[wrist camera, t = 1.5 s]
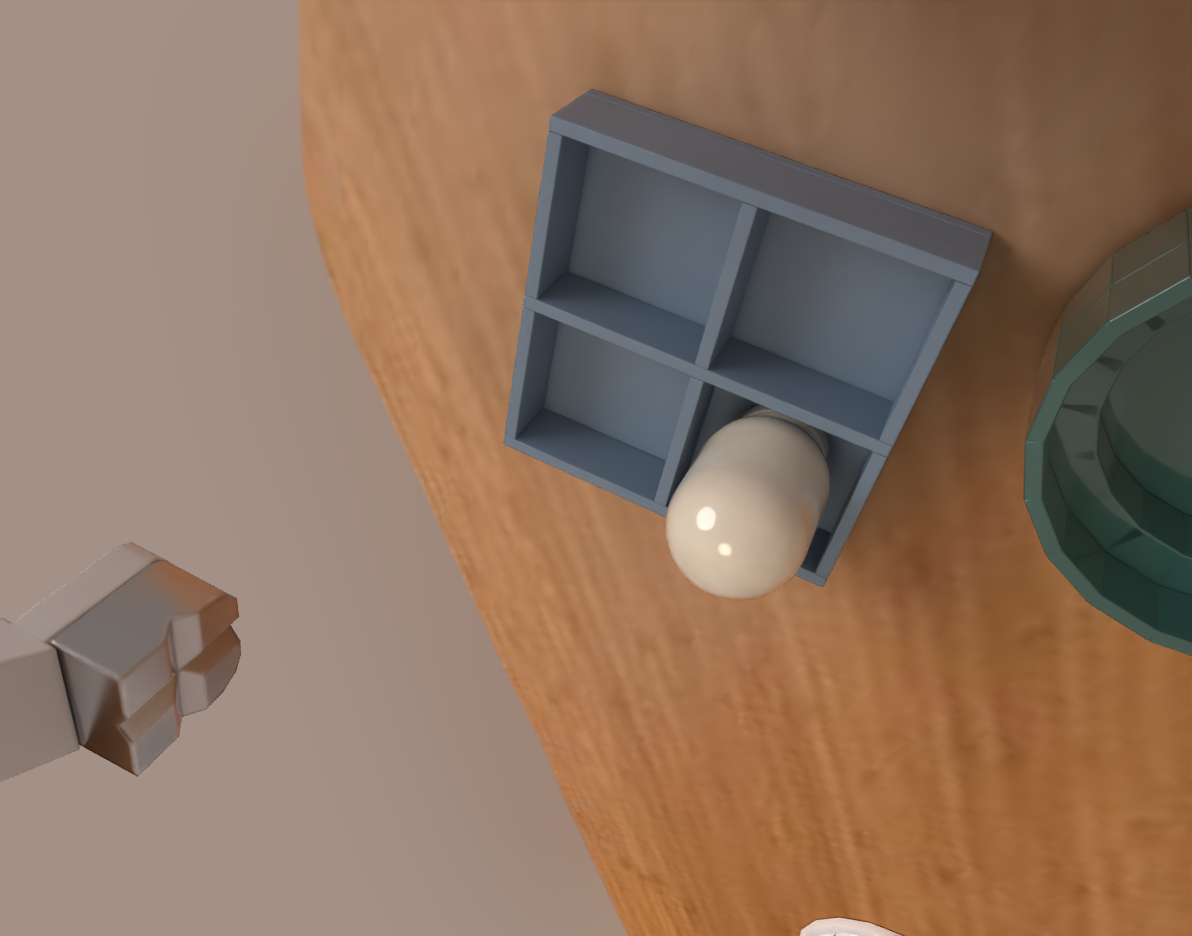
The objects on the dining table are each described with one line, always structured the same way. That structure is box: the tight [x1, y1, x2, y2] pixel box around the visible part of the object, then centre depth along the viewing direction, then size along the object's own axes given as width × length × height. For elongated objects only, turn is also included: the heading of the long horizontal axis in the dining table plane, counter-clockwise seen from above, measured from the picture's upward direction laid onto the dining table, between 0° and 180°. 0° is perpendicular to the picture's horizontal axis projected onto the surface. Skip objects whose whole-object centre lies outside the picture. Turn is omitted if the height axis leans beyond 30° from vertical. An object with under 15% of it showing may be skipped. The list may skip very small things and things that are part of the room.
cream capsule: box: [665, 405, 831, 600], centre depth 34 cm, size 5×5×8 cm
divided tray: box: [503, 89, 993, 587], centre depth 34 cm, size 14×14×3 cm
